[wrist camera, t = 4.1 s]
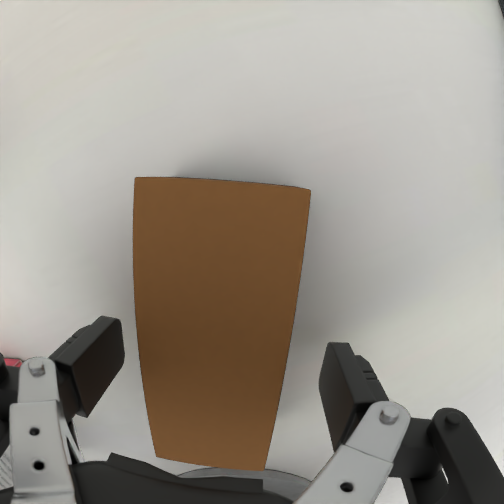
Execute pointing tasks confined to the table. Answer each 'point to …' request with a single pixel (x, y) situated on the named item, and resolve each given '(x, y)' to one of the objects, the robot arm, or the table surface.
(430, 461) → the robot arm
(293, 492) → the mate gourd
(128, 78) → the table surface
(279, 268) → the eraser
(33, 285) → the table surface
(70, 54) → the table surface
